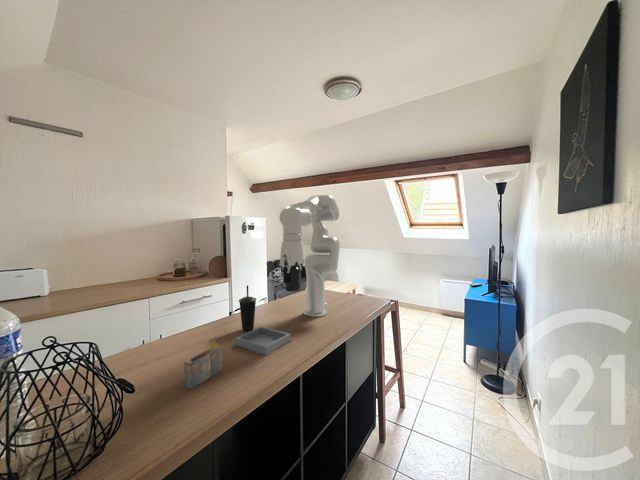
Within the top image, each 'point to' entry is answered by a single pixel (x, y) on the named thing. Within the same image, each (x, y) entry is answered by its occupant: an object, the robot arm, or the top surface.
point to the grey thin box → (203, 365)
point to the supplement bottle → (294, 279)
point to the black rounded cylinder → (247, 312)
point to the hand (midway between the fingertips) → (292, 280)
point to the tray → (263, 340)
